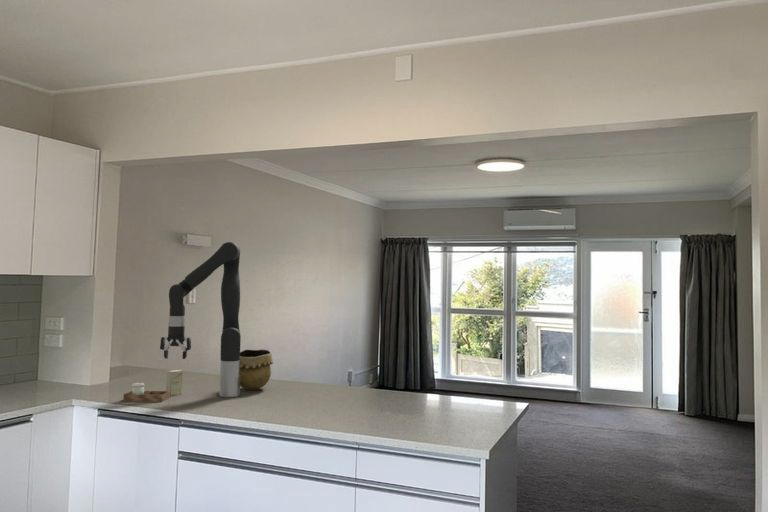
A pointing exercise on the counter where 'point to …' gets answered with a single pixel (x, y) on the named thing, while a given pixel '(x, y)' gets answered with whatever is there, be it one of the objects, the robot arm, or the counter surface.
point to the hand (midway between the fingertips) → (175, 358)
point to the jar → (138, 388)
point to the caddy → (148, 396)
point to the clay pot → (255, 368)
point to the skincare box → (174, 382)
